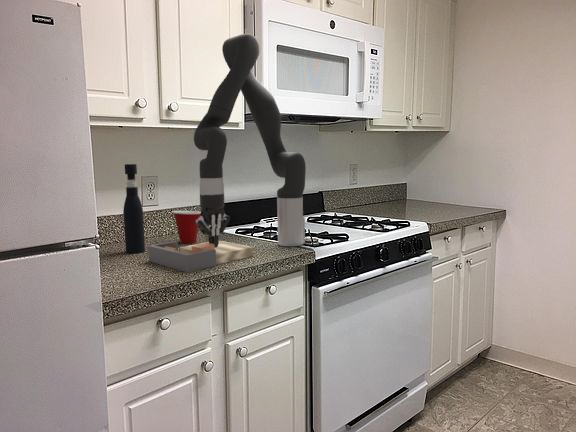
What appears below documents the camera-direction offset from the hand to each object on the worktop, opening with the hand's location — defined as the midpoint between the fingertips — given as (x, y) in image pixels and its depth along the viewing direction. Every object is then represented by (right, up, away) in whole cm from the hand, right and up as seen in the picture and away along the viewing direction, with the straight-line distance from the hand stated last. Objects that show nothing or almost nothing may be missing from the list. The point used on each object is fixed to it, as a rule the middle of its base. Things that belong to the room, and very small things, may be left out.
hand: (213, 247), depth 154 cm
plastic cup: (-14, 0, +30) cm, 34 cm away
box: (-9, -5, -3) cm, 11 cm away
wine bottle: (-29, -3, +15) cm, 33 cm away
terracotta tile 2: (-3, -2, -3) cm, 4 cm away
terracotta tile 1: (-12, -1, -2) cm, 12 cm away
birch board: (0, -3, +6) cm, 7 cm away
